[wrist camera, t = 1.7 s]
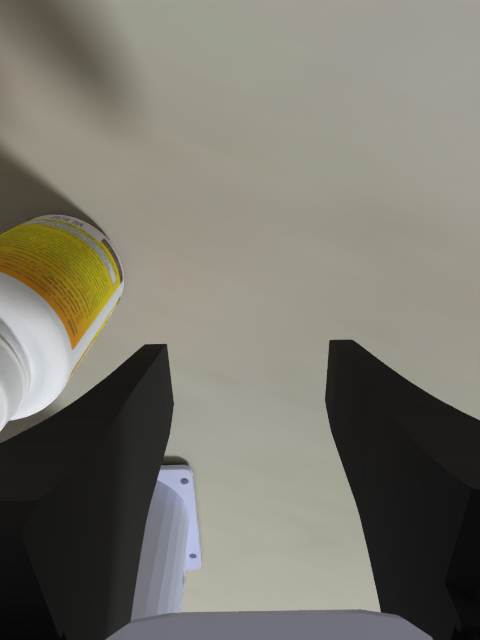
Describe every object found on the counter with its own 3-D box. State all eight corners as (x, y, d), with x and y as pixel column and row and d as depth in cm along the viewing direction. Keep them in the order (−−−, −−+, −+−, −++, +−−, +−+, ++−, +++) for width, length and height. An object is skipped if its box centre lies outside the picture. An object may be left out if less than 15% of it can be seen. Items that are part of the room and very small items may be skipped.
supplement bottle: (17, 194, 19) (-194, 269, 10) (139, 234, 20) (50, 340, 10) (4, 302, 21) (-176, 446, 12) (114, 334, 22) (24, 492, 13)
